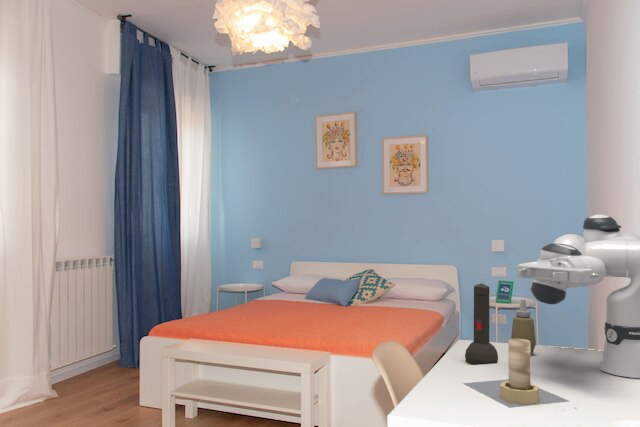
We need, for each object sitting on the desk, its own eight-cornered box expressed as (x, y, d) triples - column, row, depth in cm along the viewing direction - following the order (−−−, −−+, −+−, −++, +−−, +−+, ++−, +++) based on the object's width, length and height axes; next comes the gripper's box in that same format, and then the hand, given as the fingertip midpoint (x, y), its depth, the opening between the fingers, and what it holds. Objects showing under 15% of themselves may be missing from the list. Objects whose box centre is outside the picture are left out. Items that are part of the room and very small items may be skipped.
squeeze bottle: (538, 357, 179) (538, 302, 180) (512, 355, 181) (512, 301, 181) (533, 351, 187) (533, 299, 188) (509, 350, 189) (509, 298, 189)
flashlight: (471, 357, 178) (460, 363, 170) (471, 280, 179) (460, 283, 171) (502, 362, 173) (492, 368, 165) (502, 282, 173) (492, 285, 165)
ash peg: (518, 394, 137) (518, 337, 137) (534, 399, 132) (534, 341, 132) (504, 397, 134) (504, 339, 134) (520, 402, 130) (520, 343, 130)
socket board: (516, 382, 150) (516, 367, 151) (569, 405, 131) (569, 388, 131) (462, 387, 146) (462, 372, 146) (509, 411, 126) (509, 394, 126)
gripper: (602, 287, 146) (572, 290, 138) (534, 280, 163) (504, 282, 155) (602, 263, 146) (572, 265, 139) (534, 259, 163) (504, 260, 156)
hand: (536, 274), depth 147 cm, fingers open, 8 cm apart
